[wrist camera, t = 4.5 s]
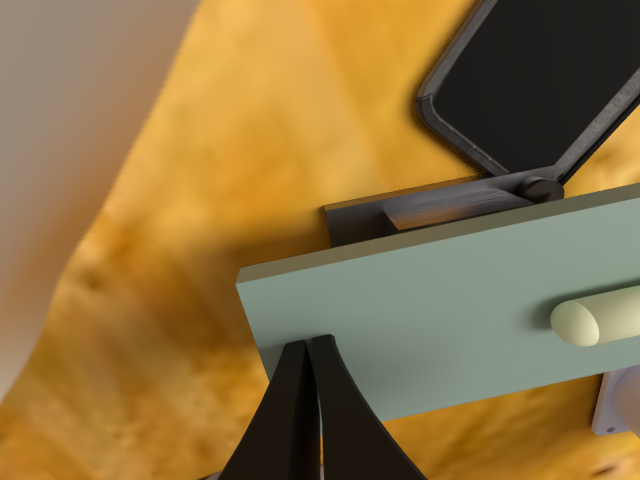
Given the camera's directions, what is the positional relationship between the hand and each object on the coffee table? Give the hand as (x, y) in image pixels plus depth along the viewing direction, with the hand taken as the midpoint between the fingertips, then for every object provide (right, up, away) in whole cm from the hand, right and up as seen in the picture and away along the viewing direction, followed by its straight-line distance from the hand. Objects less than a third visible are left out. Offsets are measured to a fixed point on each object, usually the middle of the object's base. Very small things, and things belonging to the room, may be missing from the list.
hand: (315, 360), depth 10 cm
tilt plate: (+6, +2, +1) cm, 6 cm away
